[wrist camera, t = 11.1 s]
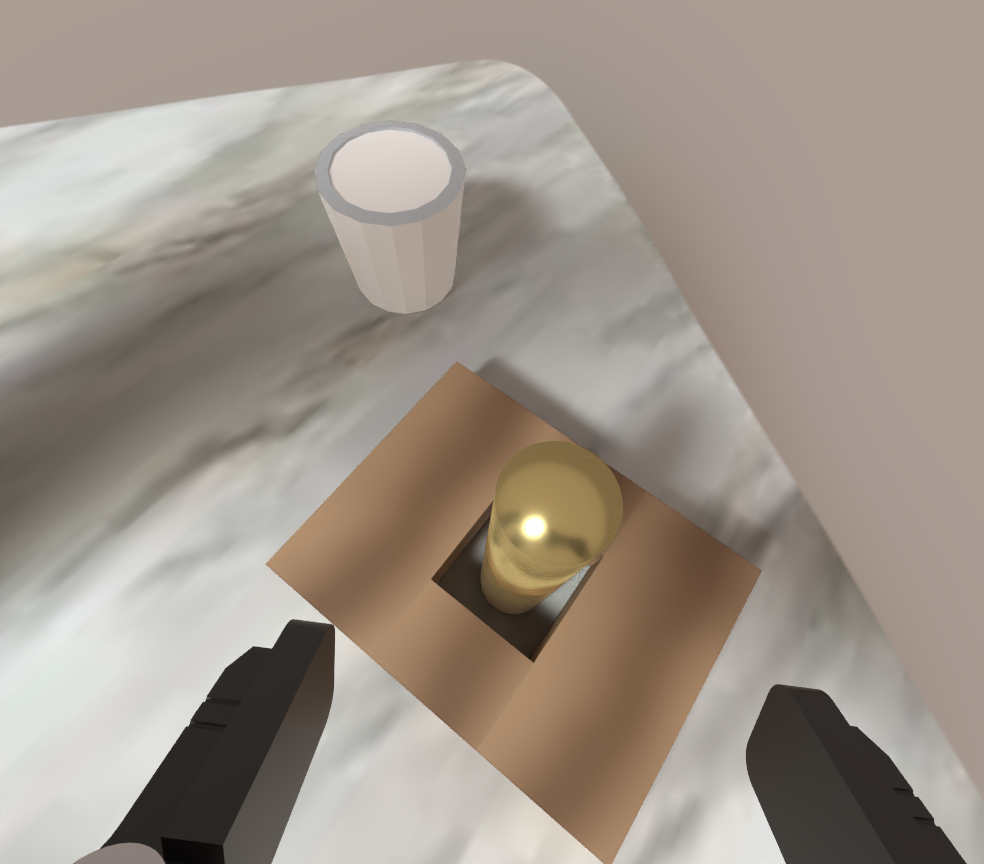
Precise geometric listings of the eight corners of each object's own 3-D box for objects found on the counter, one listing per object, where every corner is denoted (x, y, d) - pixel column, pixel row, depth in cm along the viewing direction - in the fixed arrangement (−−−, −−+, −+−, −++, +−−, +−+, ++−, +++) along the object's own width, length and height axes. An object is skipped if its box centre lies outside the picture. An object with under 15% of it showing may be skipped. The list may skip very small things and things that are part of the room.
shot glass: (442, 337, 28) (435, 241, 22) (325, 303, 28) (285, 199, 22) (481, 247, 31) (485, 138, 24) (374, 217, 31) (351, 104, 25)
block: (285, 574, 22) (265, 564, 20) (457, 387, 27) (456, 361, 24) (592, 843, 19) (609, 868, 17) (732, 579, 23) (761, 570, 21)
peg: (466, 585, 23) (468, 510, 12) (506, 531, 24) (542, 418, 13) (521, 629, 22) (577, 594, 11) (560, 572, 23) (646, 489, 12)
